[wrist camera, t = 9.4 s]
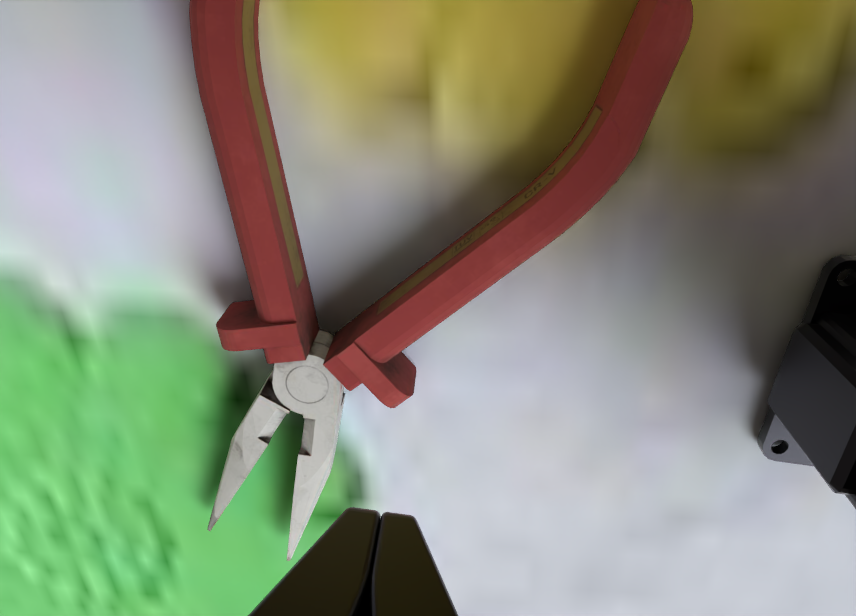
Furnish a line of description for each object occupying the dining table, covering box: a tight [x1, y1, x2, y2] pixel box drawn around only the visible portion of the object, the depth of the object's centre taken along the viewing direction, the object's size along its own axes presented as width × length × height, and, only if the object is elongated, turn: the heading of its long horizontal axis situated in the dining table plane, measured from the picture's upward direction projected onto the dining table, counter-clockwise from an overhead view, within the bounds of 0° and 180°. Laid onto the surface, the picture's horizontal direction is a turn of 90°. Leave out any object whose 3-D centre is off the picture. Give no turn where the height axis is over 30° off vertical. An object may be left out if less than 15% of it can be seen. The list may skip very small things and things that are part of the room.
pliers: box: [189, 0, 693, 561], centre depth 20 cm, size 12×20×3 cm, turn 159°
